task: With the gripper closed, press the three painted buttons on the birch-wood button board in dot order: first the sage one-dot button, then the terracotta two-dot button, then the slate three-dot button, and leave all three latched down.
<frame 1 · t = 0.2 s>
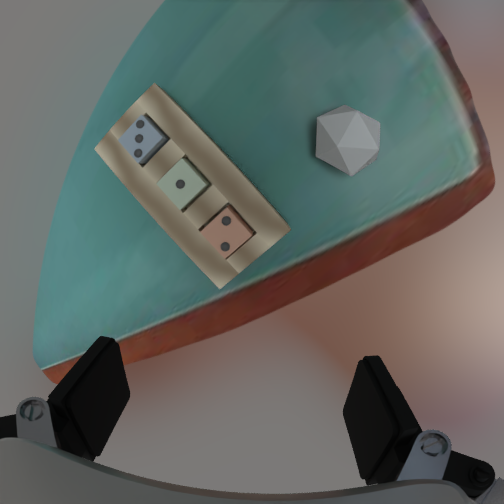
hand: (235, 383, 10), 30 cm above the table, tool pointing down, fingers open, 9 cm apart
button two: (227, 231, 35), point 4 cm above the table, slide at 0.0 cm
button board: (191, 182, 38), on the table
die: (340, 141, 36), on the table
button one: (183, 183, 34), point 4 cm above the table, slide at 0.0 cm
button three: (143, 139, 32), point 4 cm above the table, slide at 0.0 cm
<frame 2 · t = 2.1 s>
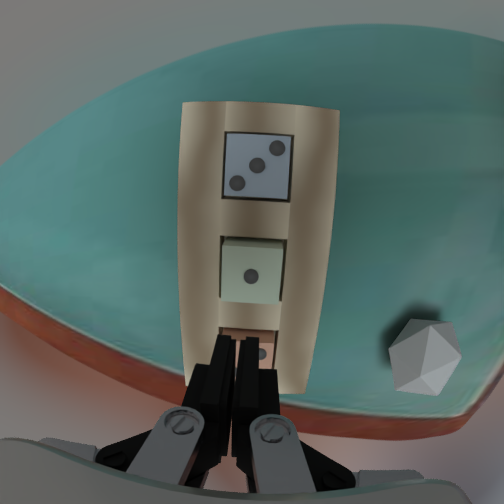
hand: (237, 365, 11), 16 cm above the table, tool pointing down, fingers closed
button two: (247, 353, 25), point 4 cm above the table, slide at 0.0 cm
button board: (253, 255, 27), on the table
die: (410, 337, 29), on the table
button one: (251, 270, 23), point 4 cm above the table, slide at 0.0 cm
button three: (257, 166, 20), point 4 cm above the table, slide at 0.0 cm
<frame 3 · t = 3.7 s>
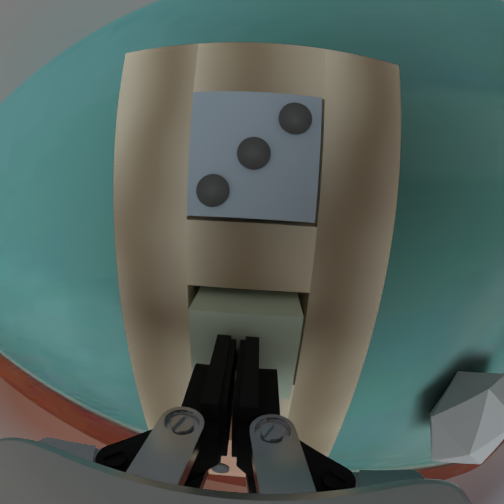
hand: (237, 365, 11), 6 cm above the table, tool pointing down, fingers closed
button two: (240, 443, 15), point 4 cm above the table, slide at 0.0 cm
button board: (249, 303, 17), on the table
die: (452, 391, 19), on the table
button one: (245, 342, 13), point 4 cm above the table, slide at 0.0 cm, touching gripper
button three: (255, 156, 10), point 4 cm above the table, slide at 0.0 cm
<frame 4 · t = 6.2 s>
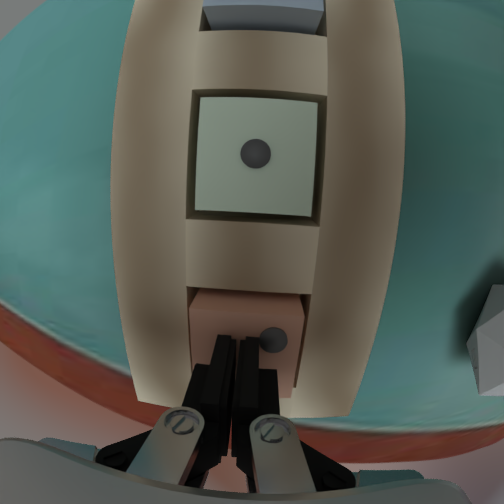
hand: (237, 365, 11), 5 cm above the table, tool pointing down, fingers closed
button two: (246, 341, 13), point 4 cm above the table, slide at 0.3 cm, touching gripper
button board: (257, 159, 14), on the table
die: (488, 315, 16), on the table
button one: (256, 156, 11), point 3 cm above the table, slide at 1.4 cm
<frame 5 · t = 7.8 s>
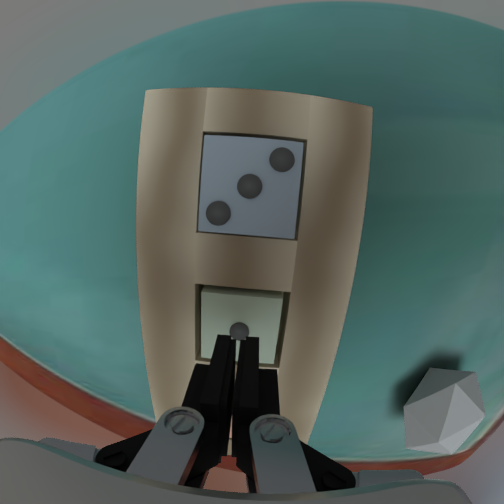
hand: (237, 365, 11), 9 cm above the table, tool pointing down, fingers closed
button two: (234, 408, 19), point 3 cm above the table, slide at 1.4 cm
button board: (243, 300, 20), on the table
die: (426, 386, 22), on the table
button one: (240, 319, 17), point 3 cm above the table, slide at 1.4 cm
button three: (250, 185, 14), point 4 cm above the table, slide at 0.0 cm
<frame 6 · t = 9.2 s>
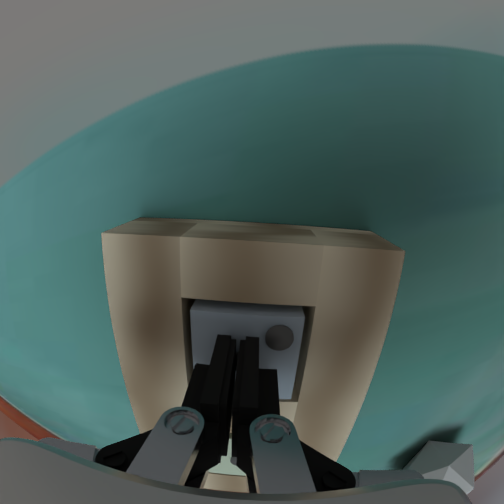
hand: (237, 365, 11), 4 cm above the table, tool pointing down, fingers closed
button two: (238, 491, 17), point 3 cm above the table, slide at 1.4 cm
button board: (243, 413, 17), on the table
die: (424, 452, 20), on the table
button one: (241, 442, 15), point 3 cm above the table, slide at 1.4 cm
button three: (246, 342, 13), point 3 cm above the table, slide at 1.3 cm
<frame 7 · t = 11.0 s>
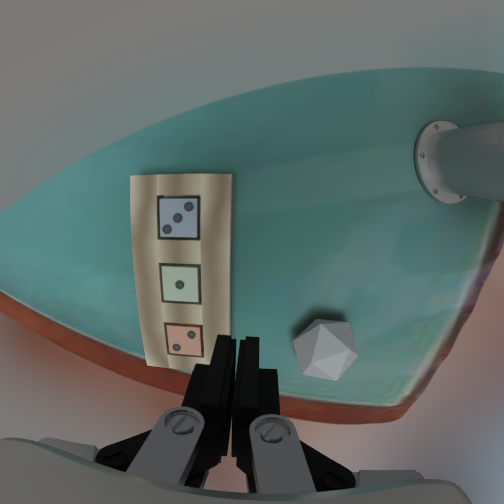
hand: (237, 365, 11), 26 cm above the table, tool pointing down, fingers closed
button two: (186, 335, 37), point 3 cm above the table, slide at 1.4 cm
button board: (187, 273, 38), on the table
die: (320, 334, 40), on the table
button one: (182, 280, 35), point 3 cm above the table, slide at 1.4 cm
button three: (180, 216, 33), point 3 cm above the table, slide at 1.4 cm
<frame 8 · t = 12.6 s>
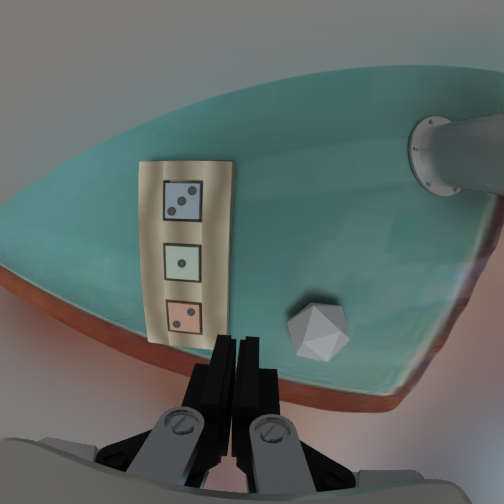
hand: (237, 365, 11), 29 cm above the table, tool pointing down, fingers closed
button two: (186, 313, 40), point 3 cm above the table, slide at 1.4 cm
button board: (189, 254, 40), on the table
die: (314, 317, 43), on the table
button one: (184, 260, 38), point 3 cm above the table, slide at 1.4 cm
button three: (184, 200, 36), point 3 cm above the table, slide at 1.4 cm
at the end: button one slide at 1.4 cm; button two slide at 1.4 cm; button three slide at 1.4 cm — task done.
